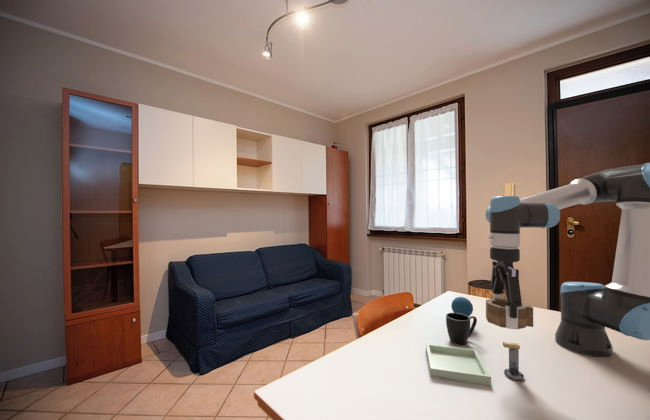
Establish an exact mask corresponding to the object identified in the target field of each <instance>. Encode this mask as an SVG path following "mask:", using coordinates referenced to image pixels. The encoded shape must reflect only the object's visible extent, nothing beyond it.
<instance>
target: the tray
mask: <svg viewBox="0 0 650 420" xmlns="http://www.w3.org/2000/svg"><path fill="white" fill-rule="evenodd" d="M425 353H426V359H427V364H428V370H429V376H430V378H436V379H443V380H449V381H457V382H461V383H462V382H463V383H470V384H477V385H485V386H490V387H491V386H492V376H491V374H490V373H489V370H488V369H487V366H486V365H485V363H484V361H483V360H482V358H481V355H480V354H479V352H478V351H477V348H467V347H459V346H452V345H443V344H442V345H441V344H435V343H434V344H433V343H425Z"/></svg>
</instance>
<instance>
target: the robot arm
mask: <svg viewBox="0 0 650 420" xmlns="http://www.w3.org/2000/svg"><path fill="white" fill-rule="evenodd" d="M603 202H606V203H607V202H615V203H616V204H615V205H616V206H617V207H619V209H621V215H620V221H619V230H618V236H617V243H616V250H615V257H614V264H613V270H612V271H613V272H612V279H611V282H610V283H607V284H605V285H604V284H602V283H597V282H596V283H595V282H588V281H586V282H585V281H565V282H563V283H562V284H561V285H560V292H559V293H560V299H559V300H560V322H559V325H558V327H557V329H556V331H555V334H554V337H555V338H554V340H555V342H556V343H557V344H558V345H559V346H561V347H563V348H564V349H567V350H570V351H572V352H575V353H578V354H583V355H587V356H592V357H597V358H598V357H599V358H600V357H601V358H606V357H607V358H608V357H611V356H613V355H614V353H613V351H614V349H613V346H612V342H611V341H610V337H609V335H608V333H607V331H606V329H610V330H613V331H615V332H618V333H620V334H622V335H624V336H626V337H632V338H635V339H638V340H642V341H650V162H646V163H642V164H635V165H628V166H627V165H626V166H622V167H621V166H620V167H613V168H612V167H611V168H608V169H604V170H601V171H598V172H595V173H592V174H588V175H585V176H583V177H580V178H576V179H574V180H572V181H570V183H569V184H566V185H562V186H559V187H556V188H553V189H549V190H546V191H541V192H539V193H536V194H532V195H529V196H526V197H522V198H520V197H519V196H517V195H500V196H493V197H491V198H490V203H489V206H488V207H487V209H486V210H485V218H486V221H487V222H488V223H489V235H488V236H487V237H488V240H489V242H490V243H489V244H490V246H491V247H489V258H490V259H491V260H492V262H491V264H492V269H491V280H490V290H492V295H493V296H492V299H494V298H496V299H504V297H505V298H506V299H505V300H507V303H505V306H506V328H505V329H510V330H519V329H518V307H519V306H522V304H523V303H522V294H521V287H520V285H521V284H520V274H519V273H520V271H519V268H515V267H514V263H518V262H520V261H521V254H520V253H521V250H520V246H521V232H520V231H521V228H536V229H537V228H539V229H545V228H552V227H555V226H557V225H558V223H559V222H560V220H561V212H560V210H563V209H566V208H569V207H573V206H576V205H589V204H592V203H603ZM504 295H505V296H504Z"/></svg>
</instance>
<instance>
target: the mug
mask: <svg viewBox="0 0 650 420" xmlns="http://www.w3.org/2000/svg"><path fill="white" fill-rule="evenodd" d="M471 319H473V321H472V324H471ZM477 321H478V320H477V317H476V316H474V315H470V316H467V315H464V314H460V313H454V312H449V313H448V312H447V313H446V314H445V323H446V324H445V325H446V330H447V334H448V337H449V341H450V343H452V344H454V345H458V346H466V345H467V342H468V341H469V340H468V339H469V338H470V337H471V335H472V333H473V331H474V329H475V327H476V326H477Z"/></svg>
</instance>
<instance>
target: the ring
mask: <svg viewBox="0 0 650 420" xmlns="http://www.w3.org/2000/svg"><path fill="white" fill-rule="evenodd" d="M505 303H507V299H496V298H494V299H493V298H489V299H485V318H486V322H487V323H490V324H492V325H495V326H496V327H500V328H505V329H507V328H506V306H505ZM527 327H531V328H534V307H533V306H532V305H528V304H527V305H526V304H523V303H522V306H519V307H518V329H517V330H521V329H526V328H527Z"/></svg>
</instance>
